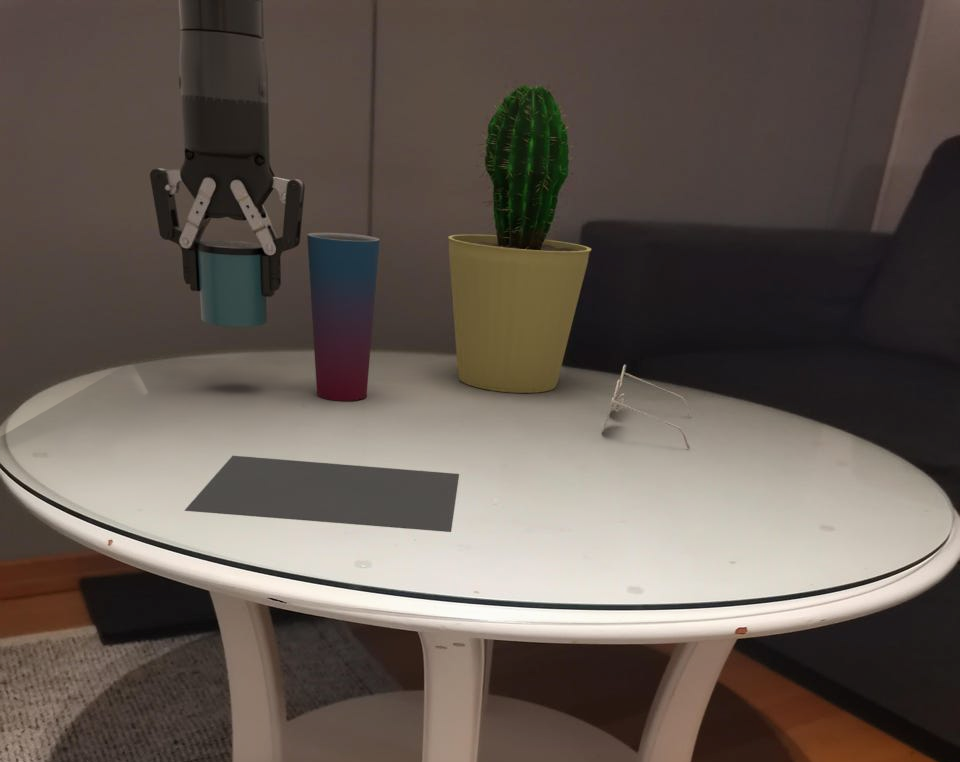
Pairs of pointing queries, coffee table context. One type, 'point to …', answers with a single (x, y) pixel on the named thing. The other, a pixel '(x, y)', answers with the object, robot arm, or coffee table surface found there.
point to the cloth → (331, 493)
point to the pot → (231, 283)
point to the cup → (342, 311)
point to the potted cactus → (518, 256)
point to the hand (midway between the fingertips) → (232, 292)
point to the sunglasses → (620, 404)
